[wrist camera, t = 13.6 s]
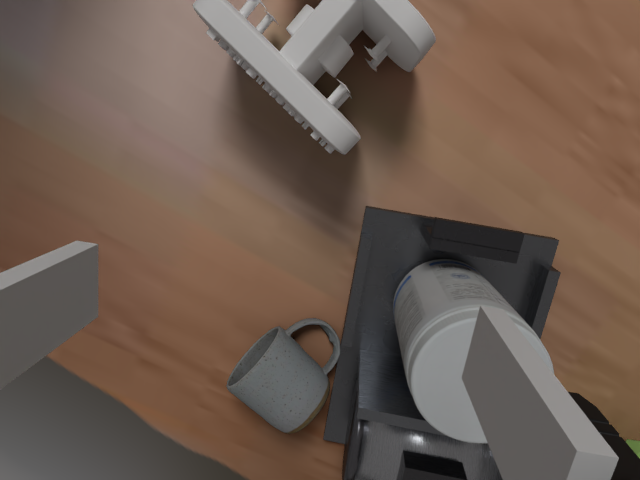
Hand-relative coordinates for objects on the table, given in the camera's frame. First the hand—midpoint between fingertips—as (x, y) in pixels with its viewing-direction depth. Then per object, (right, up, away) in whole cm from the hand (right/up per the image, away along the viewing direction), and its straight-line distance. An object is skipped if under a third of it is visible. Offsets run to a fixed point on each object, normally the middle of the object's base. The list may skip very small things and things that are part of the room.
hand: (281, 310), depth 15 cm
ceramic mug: (-1, -10, +32) cm, 34 cm away
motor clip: (+13, -8, +30) cm, 34 cm away
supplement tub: (+13, -4, +28) cm, 31 cm away
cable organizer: (+2, +19, +25) cm, 32 cm away
